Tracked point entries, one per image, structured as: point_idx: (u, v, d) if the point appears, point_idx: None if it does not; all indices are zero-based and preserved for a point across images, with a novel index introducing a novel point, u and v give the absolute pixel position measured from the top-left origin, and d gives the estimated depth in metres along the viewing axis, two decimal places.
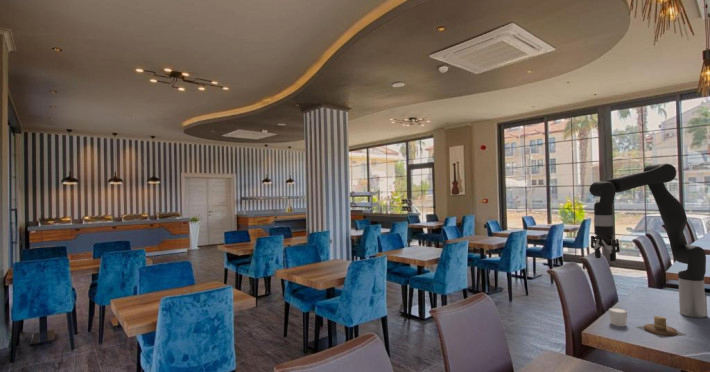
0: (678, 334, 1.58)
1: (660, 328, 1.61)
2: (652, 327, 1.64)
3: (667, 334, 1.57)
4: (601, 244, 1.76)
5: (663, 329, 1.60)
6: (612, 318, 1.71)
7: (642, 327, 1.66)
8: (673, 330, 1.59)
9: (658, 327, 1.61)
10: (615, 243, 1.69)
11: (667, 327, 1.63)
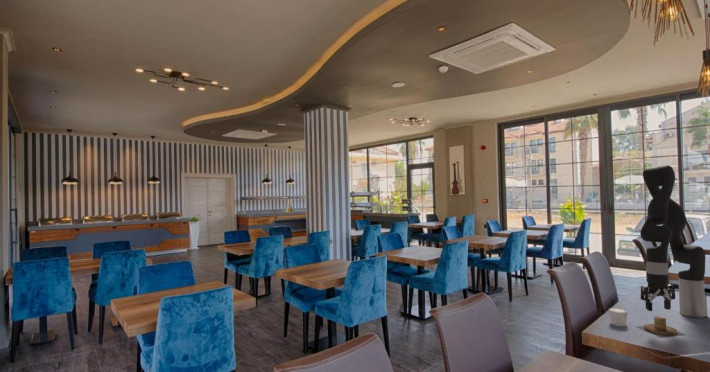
0: (678, 334, 1.58)
1: (660, 328, 1.61)
2: (652, 327, 1.64)
3: (667, 334, 1.57)
4: (659, 294, 1.61)
5: (663, 329, 1.60)
6: (612, 318, 1.71)
7: (642, 327, 1.66)
8: (673, 330, 1.59)
9: (658, 327, 1.61)
10: None
11: (667, 327, 1.63)
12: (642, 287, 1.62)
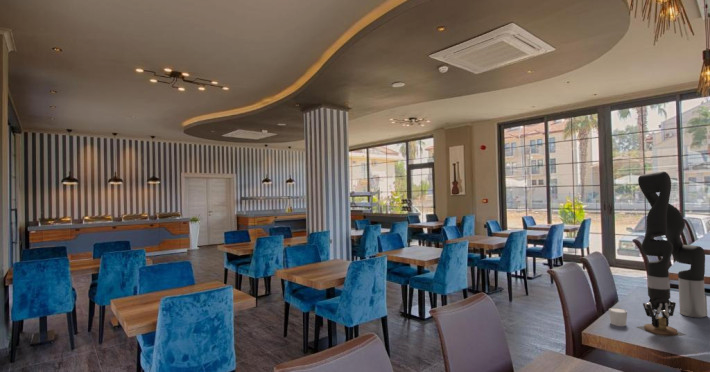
0: (678, 334, 1.58)
1: (660, 328, 1.61)
2: (652, 327, 1.64)
3: (667, 334, 1.57)
4: (662, 307, 1.61)
5: (663, 329, 1.60)
6: (612, 318, 1.71)
7: (642, 327, 1.66)
8: (673, 330, 1.59)
9: (658, 327, 1.61)
10: None
11: (667, 327, 1.63)
12: (644, 305, 1.62)
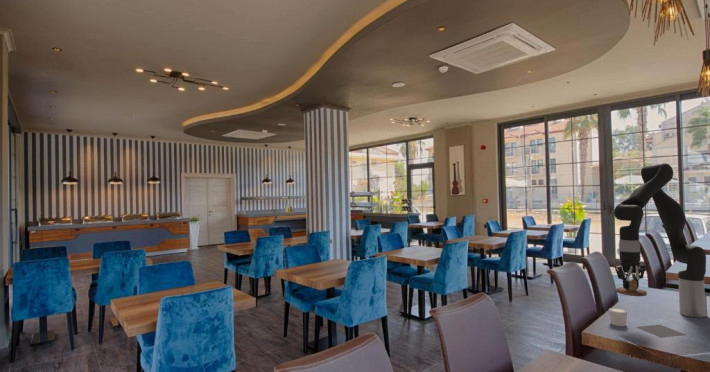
0: (678, 334, 1.58)
1: (631, 290, 1.66)
2: (623, 289, 1.69)
3: (637, 295, 1.63)
4: (632, 270, 1.67)
5: (633, 291, 1.66)
6: (612, 318, 1.71)
7: (642, 327, 1.66)
8: (643, 292, 1.65)
9: (629, 289, 1.67)
10: None
11: (637, 289, 1.69)
12: (616, 268, 1.68)
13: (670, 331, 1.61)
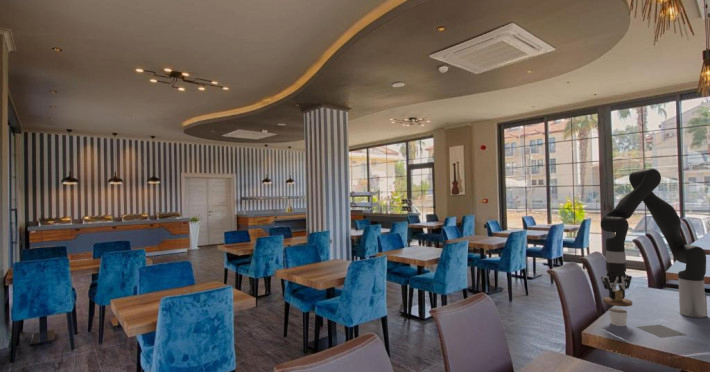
0: (678, 334, 1.58)
1: (617, 300, 1.70)
2: (610, 299, 1.73)
3: (622, 305, 1.67)
4: (618, 280, 1.71)
5: (619, 301, 1.70)
6: (612, 318, 1.71)
7: (642, 327, 1.66)
8: (629, 302, 1.69)
9: (615, 299, 1.71)
10: None
11: (624, 299, 1.73)
12: (602, 278, 1.72)
13: (670, 331, 1.61)
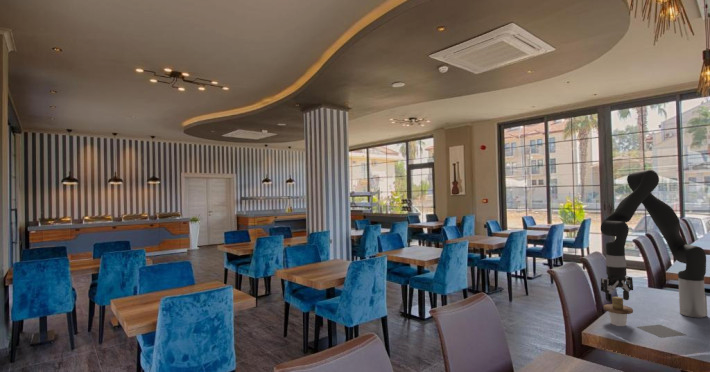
0: (678, 334, 1.58)
1: (617, 307, 1.70)
2: (610, 307, 1.73)
3: (623, 312, 1.67)
4: (617, 285, 1.71)
5: (620, 308, 1.70)
6: (612, 318, 1.71)
7: (642, 327, 1.66)
8: (629, 309, 1.69)
9: (615, 306, 1.71)
10: None
11: (624, 306, 1.73)
12: (602, 279, 1.71)
13: (670, 331, 1.61)
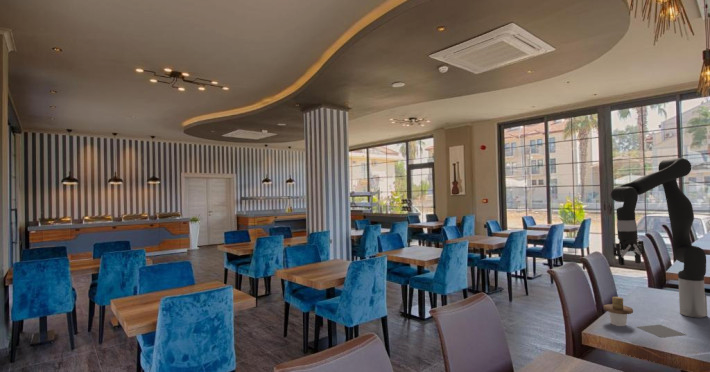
0: (678, 334, 1.58)
1: (617, 307, 1.70)
2: (610, 307, 1.73)
3: (623, 312, 1.67)
4: (629, 249, 1.76)
5: (620, 308, 1.70)
6: (612, 318, 1.71)
7: (642, 327, 1.66)
8: (629, 309, 1.69)
9: (615, 306, 1.71)
10: None
11: (624, 307, 1.73)
12: (614, 244, 1.76)
13: (670, 331, 1.61)
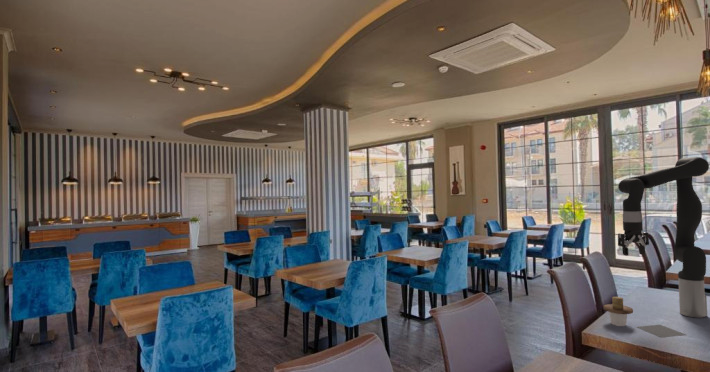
0: (678, 334, 1.58)
1: (617, 307, 1.70)
2: (610, 307, 1.73)
3: (623, 312, 1.67)
4: (634, 240, 1.79)
5: (620, 308, 1.70)
6: (612, 318, 1.71)
7: (642, 327, 1.66)
8: (629, 309, 1.69)
9: (615, 306, 1.71)
10: None
11: (624, 307, 1.73)
12: (619, 234, 1.79)
13: (670, 331, 1.61)
